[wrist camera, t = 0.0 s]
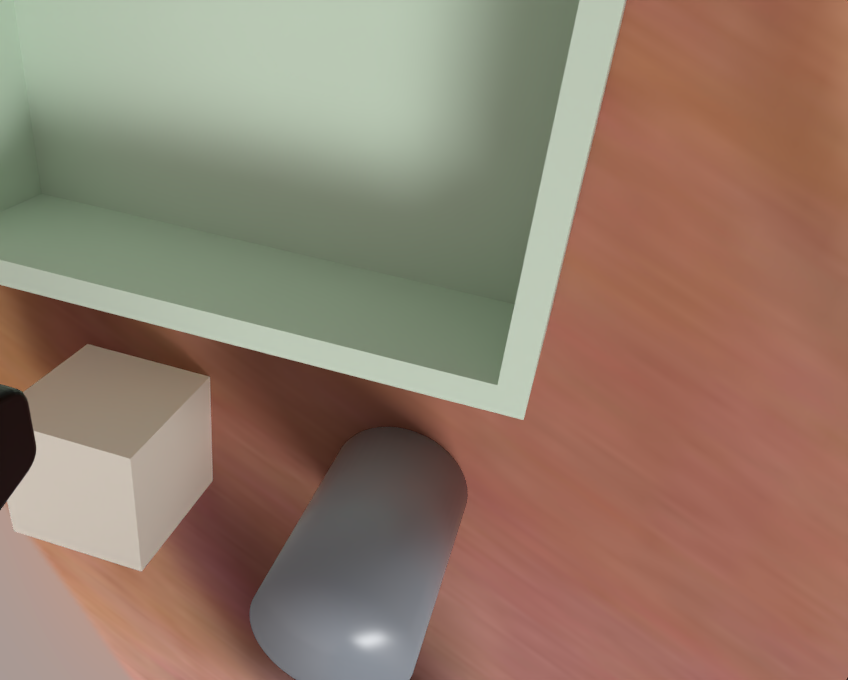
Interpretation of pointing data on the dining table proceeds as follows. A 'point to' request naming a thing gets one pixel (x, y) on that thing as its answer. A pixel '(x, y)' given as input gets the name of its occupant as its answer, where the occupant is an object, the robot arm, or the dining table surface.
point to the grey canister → (364, 561)
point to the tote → (308, 174)
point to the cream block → (114, 455)
